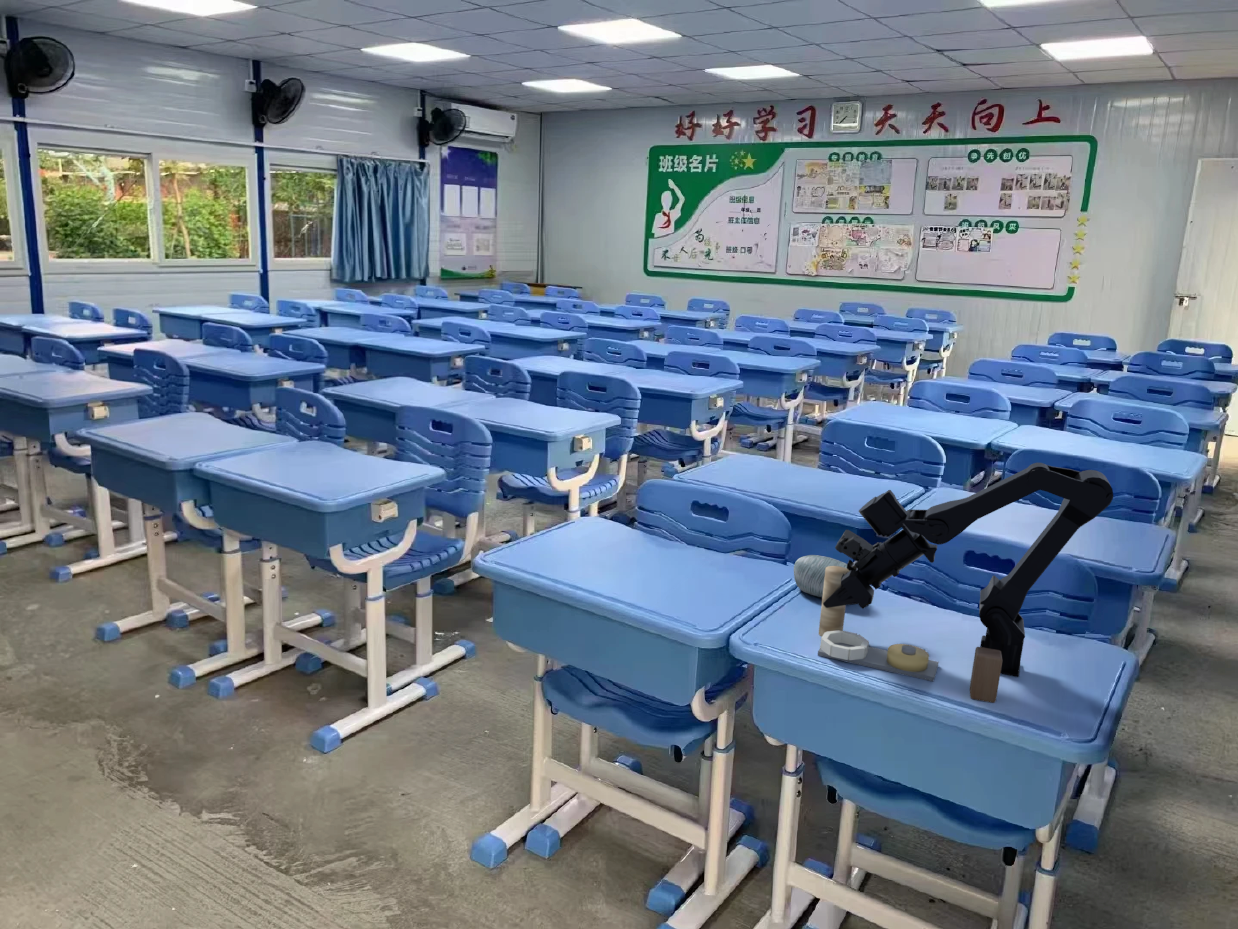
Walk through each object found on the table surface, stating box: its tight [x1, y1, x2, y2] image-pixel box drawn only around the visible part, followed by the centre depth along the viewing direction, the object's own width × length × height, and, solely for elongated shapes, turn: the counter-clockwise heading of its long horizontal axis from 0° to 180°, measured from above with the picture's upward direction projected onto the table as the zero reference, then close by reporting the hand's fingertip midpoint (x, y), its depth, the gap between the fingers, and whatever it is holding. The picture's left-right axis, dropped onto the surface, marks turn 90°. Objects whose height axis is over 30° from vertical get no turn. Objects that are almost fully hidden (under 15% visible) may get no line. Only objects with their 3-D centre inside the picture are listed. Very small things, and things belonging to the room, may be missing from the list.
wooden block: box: [969, 646, 1002, 704], centre depth 157 cm, size 4×4×8 cm
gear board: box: [817, 629, 940, 682], centre depth 168 cm, size 20×8×4 cm, turn 65°
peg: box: [818, 566, 849, 638], centre depth 178 cm, size 4×4×13 cm
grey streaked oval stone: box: [793, 554, 848, 599], centre depth 199 cm, size 14×10×10 cm
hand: (826, 601), depth 178 cm, fingers open, 5 cm apart
